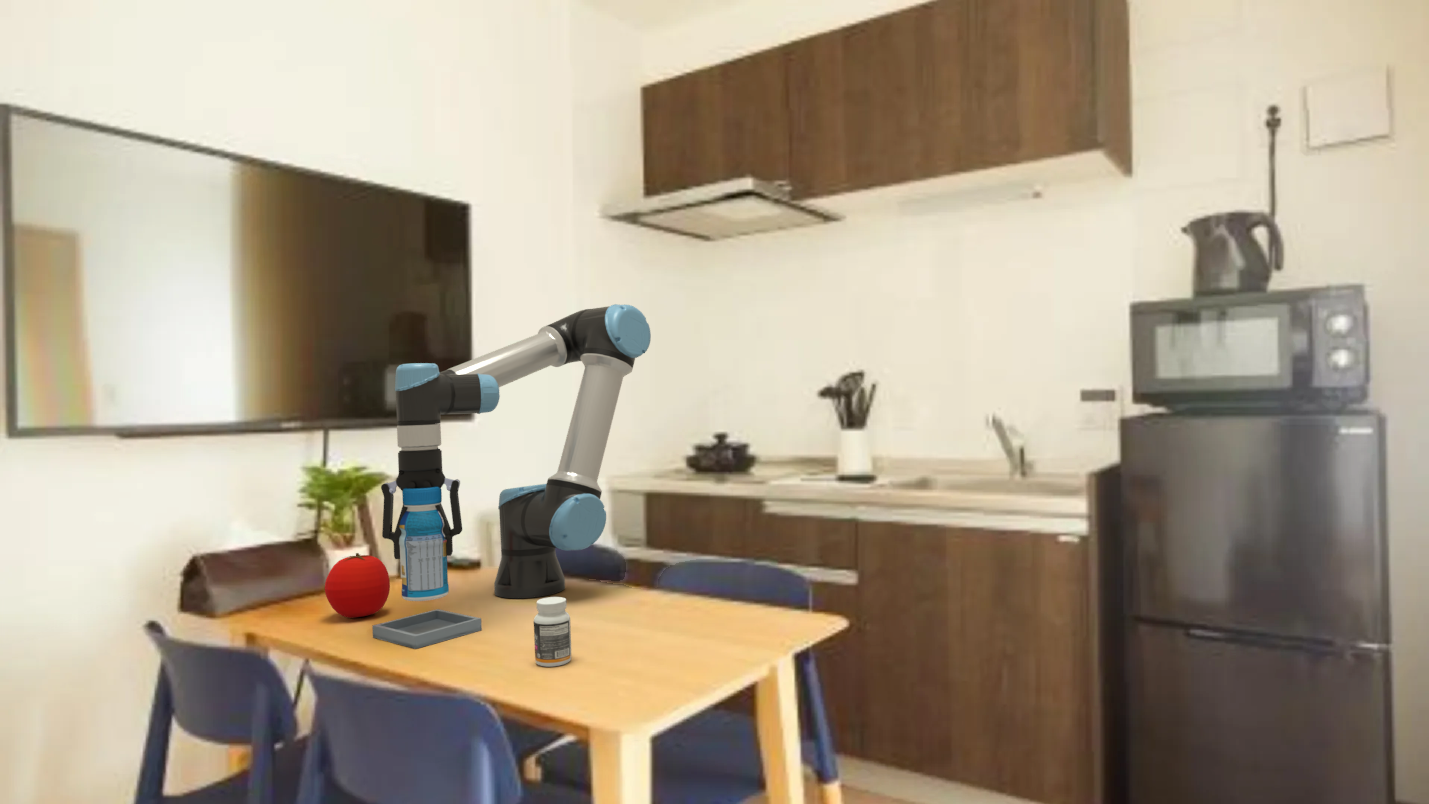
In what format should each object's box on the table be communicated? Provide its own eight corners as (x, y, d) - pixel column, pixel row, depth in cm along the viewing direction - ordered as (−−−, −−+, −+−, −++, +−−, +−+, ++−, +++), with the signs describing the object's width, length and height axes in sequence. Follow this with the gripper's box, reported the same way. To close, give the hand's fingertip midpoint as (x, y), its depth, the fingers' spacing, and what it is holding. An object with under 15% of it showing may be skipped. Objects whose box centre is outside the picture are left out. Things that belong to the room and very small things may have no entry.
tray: (438, 620, 169) (437, 609, 169) (481, 630, 160) (481, 618, 160) (372, 637, 158) (372, 625, 158) (415, 649, 150) (415, 636, 150)
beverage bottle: (422, 604, 153) (418, 490, 153) (390, 599, 158) (387, 488, 157) (459, 594, 160) (456, 485, 160) (428, 589, 165) (425, 483, 165)
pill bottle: (537, 658, 142) (535, 597, 142) (573, 655, 142) (570, 595, 142) (533, 669, 136) (530, 605, 136) (570, 666, 137) (567, 603, 137)
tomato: (376, 606, 183) (374, 546, 183) (401, 614, 174) (398, 551, 174) (315, 618, 174) (312, 555, 174) (338, 628, 166) (335, 562, 166)
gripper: (476, 445, 164) (481, 567, 164) (368, 449, 161) (373, 574, 161) (472, 447, 157) (476, 575, 157) (359, 451, 154) (364, 583, 154)
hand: (424, 575), depth 159 cm, fingers closed on beverage bottle, 6 cm apart
